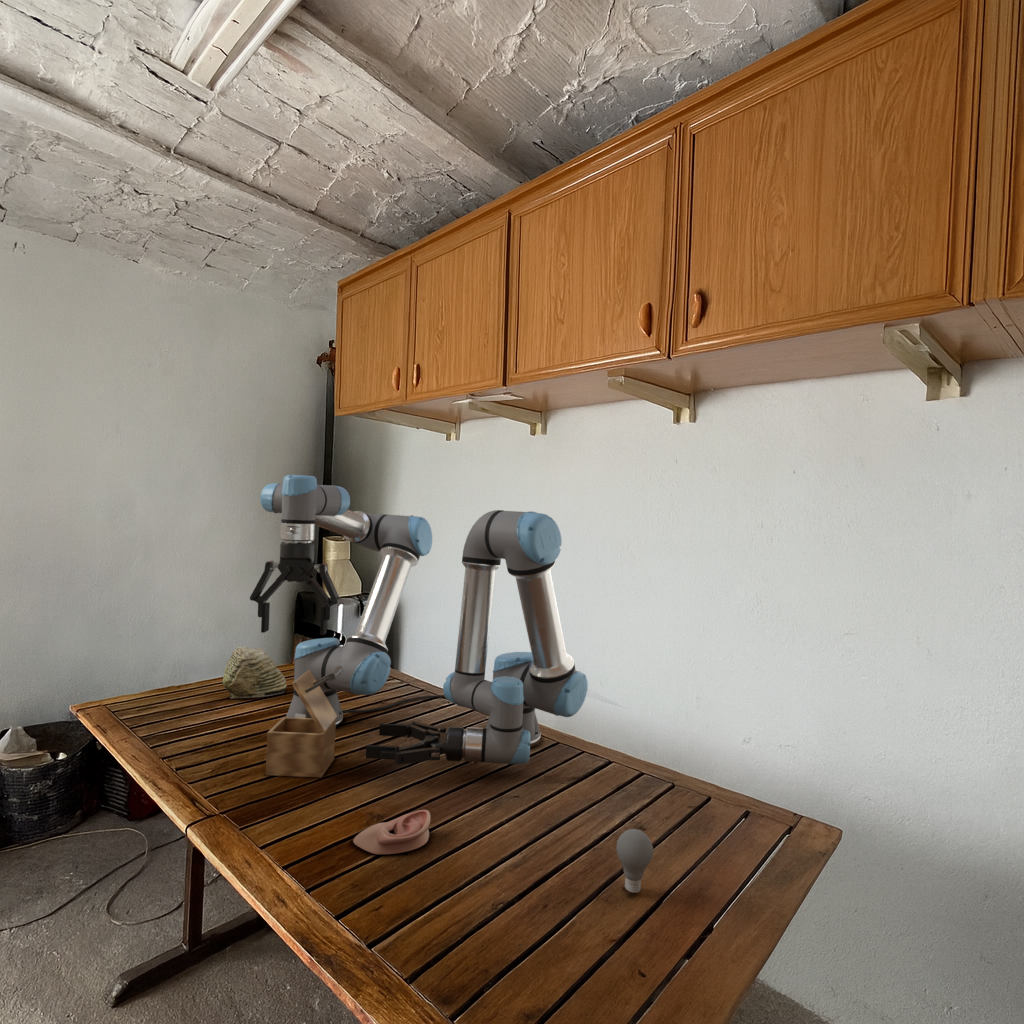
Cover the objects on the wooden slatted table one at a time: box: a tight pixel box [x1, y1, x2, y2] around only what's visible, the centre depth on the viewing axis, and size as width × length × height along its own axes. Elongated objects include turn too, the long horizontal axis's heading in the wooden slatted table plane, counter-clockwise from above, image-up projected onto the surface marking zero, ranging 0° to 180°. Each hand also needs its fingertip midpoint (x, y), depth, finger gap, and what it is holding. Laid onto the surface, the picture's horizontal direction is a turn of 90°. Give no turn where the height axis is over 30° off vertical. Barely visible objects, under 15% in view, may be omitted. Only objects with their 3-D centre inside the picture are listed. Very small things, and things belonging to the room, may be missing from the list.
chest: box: [265, 716, 336, 778], centre depth 148 cm, size 13×10×10 cm
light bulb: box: [615, 828, 654, 894], centre depth 106 cm, size 6×6×10 cm
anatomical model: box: [352, 809, 431, 856], centre depth 118 cm, size 13×4×12 cm
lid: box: [291, 666, 343, 733], centre depth 148 cm, size 13×10×9 cm
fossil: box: [222, 646, 288, 699], centre depth 198 cm, size 9×18×15 cm, turn 132°
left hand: (294, 632), depth 147 cm, fingers open, 13 cm apart
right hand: (373, 740), depth 148 cm, fingers open, 13 cm apart
